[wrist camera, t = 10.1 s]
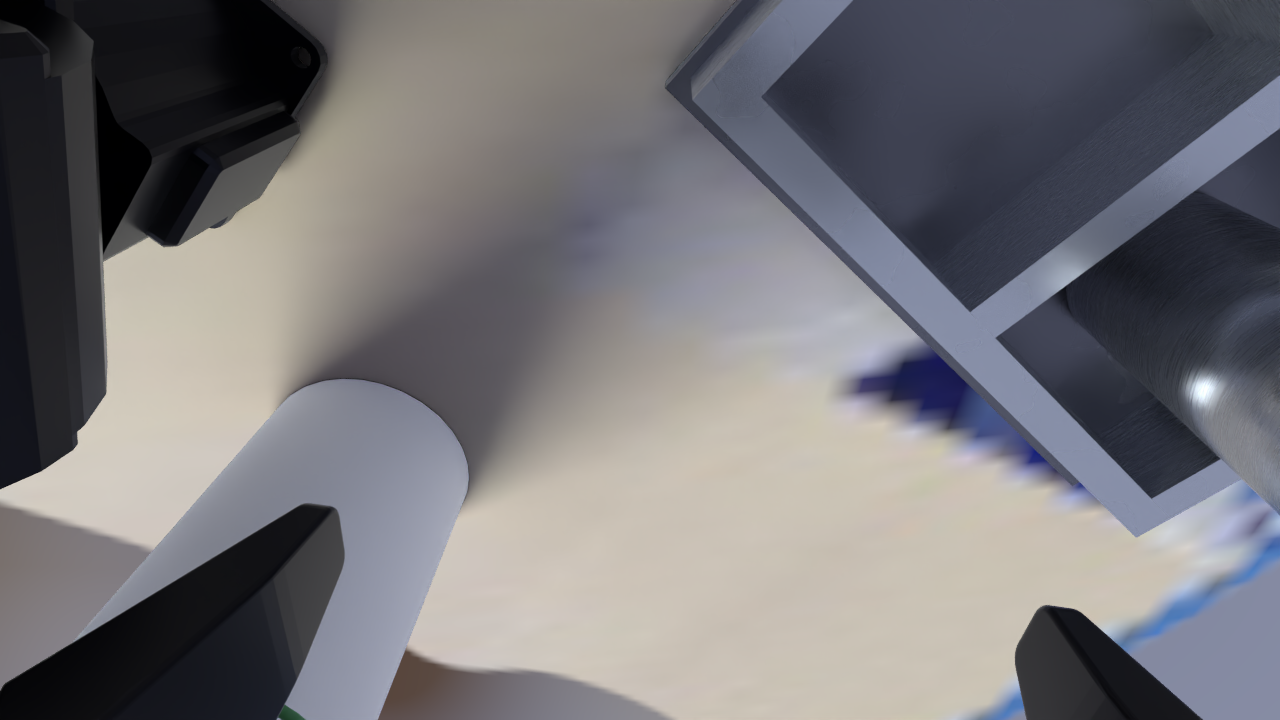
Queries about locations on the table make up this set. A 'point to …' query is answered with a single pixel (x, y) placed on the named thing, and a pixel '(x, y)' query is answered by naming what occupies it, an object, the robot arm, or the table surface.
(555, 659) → the table surface
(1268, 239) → the shiny gray cylinder
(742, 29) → the gray divided tray
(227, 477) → the cylindrical container
